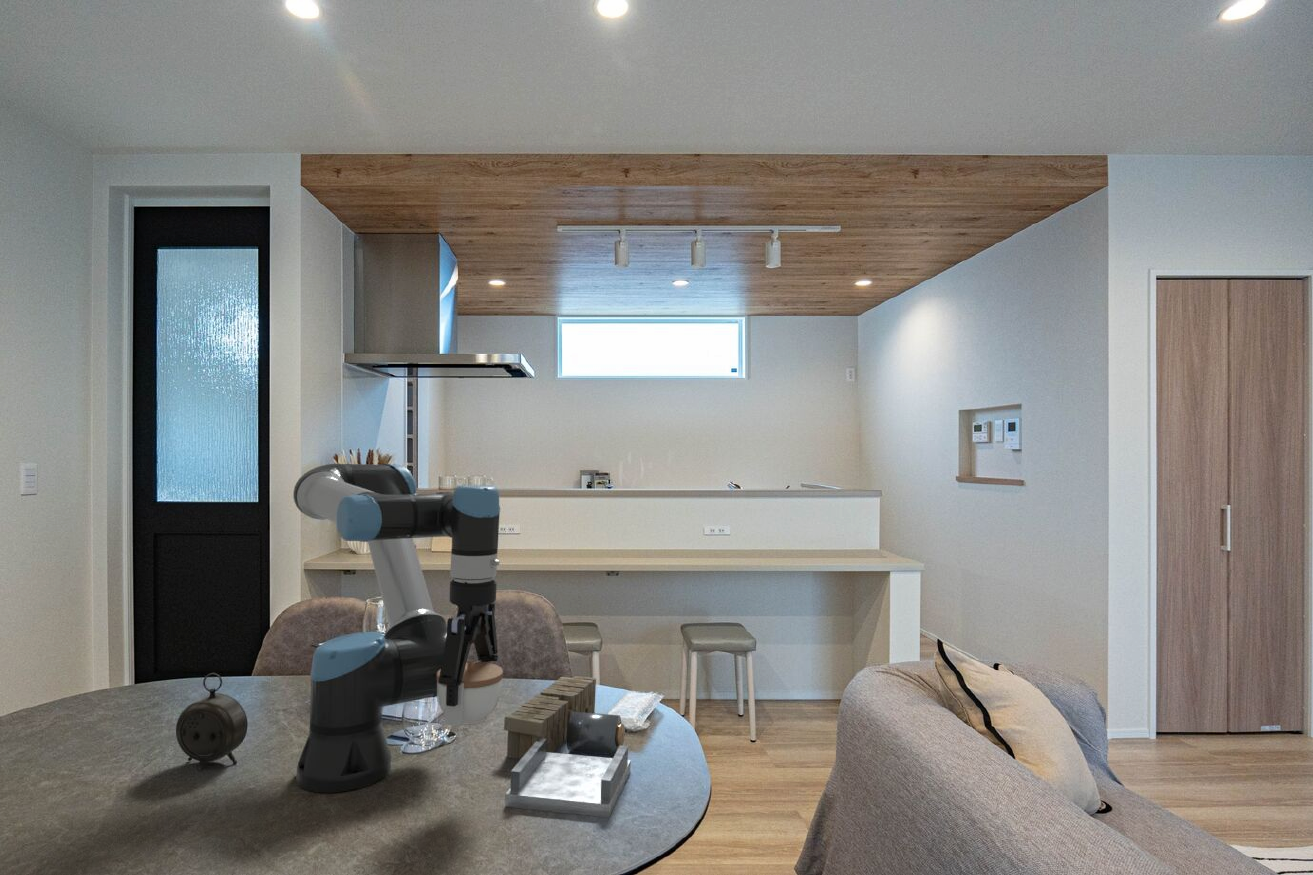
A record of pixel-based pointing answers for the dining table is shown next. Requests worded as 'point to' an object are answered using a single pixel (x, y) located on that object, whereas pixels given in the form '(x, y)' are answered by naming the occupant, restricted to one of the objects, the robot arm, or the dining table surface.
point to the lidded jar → (476, 691)
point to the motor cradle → (574, 770)
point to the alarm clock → (211, 727)
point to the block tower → (549, 714)
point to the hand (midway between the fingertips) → (468, 711)
